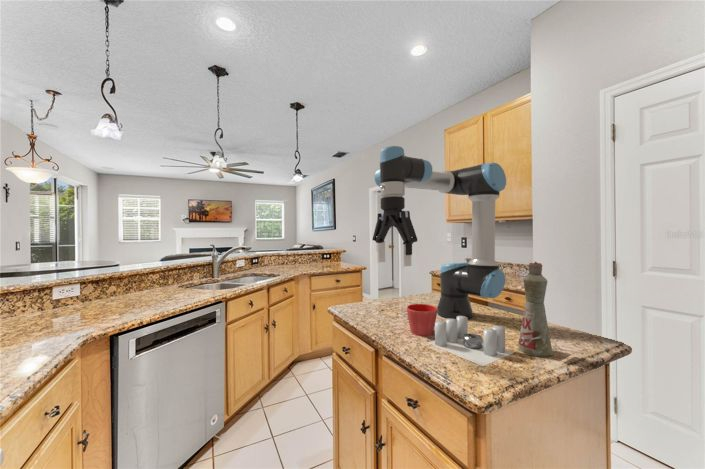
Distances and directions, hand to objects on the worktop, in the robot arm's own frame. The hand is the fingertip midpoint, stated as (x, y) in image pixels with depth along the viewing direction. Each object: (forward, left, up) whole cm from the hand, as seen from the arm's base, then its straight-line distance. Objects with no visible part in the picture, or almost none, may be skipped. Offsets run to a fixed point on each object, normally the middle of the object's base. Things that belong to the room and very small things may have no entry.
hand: (393, 264), depth 90 cm
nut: (-22, +13, -27) cm, 37 cm away
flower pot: (-18, -5, -27) cm, 33 cm away
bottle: (-34, +26, -27) cm, 51 cm away
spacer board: (-20, +13, -27) cm, 36 cm away
